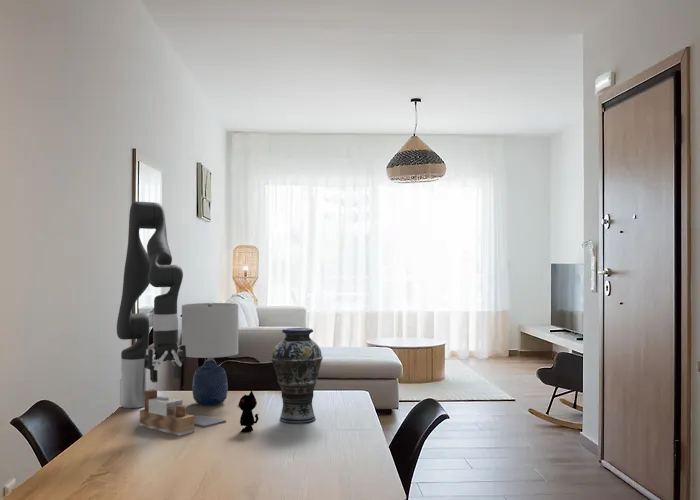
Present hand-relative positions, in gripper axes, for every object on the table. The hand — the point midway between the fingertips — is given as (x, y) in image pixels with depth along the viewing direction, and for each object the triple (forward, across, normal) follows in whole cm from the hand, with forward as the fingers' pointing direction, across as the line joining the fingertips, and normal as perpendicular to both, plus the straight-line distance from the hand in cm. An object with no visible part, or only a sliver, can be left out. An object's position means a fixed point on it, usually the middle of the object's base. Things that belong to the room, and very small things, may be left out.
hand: (165, 380), depth 218 cm
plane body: (+15, 0, 0) cm, 15 cm away
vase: (+15, -34, +24) cm, 45 cm away
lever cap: (+10, 0, 0) cm, 10 cm away
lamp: (+15, -33, -18) cm, 40 cm away
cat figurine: (+15, -14, +22) cm, 31 cm away
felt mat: (+15, -13, +2) cm, 20 cm away
